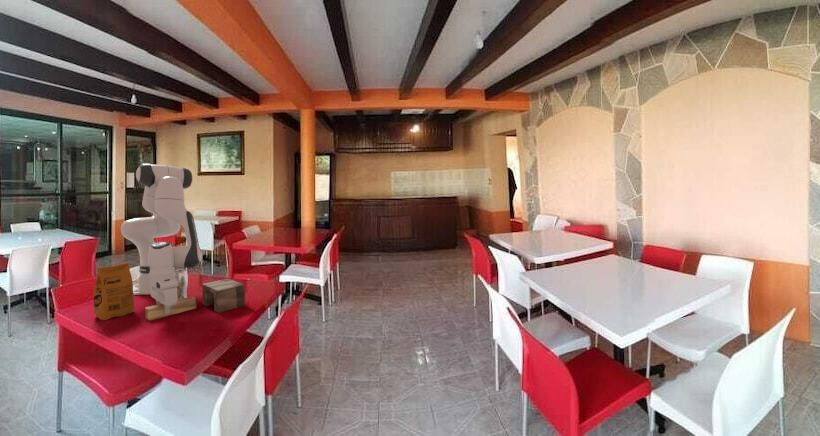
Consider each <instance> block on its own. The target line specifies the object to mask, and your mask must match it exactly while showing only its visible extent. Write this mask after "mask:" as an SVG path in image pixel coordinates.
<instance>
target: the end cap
mask: <svg viewBox="0 0 820 436" xmlns="http://www.w3.org/2000/svg"><path fill="white" fill-rule="evenodd" d="M201 286H202V287H201V288H202V289H201V291H202V292H201V293H202V305H203V306H205V307H210V306H213V307H214V309H213V310H214V312H217V313H219V314H220V313H223V312H226V311H230V310H233V308H234V309H237V308H241V307H245V306H246V292H245V291H246V290H245V289H246V287H245V286H246V285H245V284H244V283H241V282H238V281H236V280H232V279H230V278H223V279H219V280H216V281H211V282H206V283H205V282H204V283H202V284H201ZM244 305H245V306H244Z"/></svg>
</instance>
